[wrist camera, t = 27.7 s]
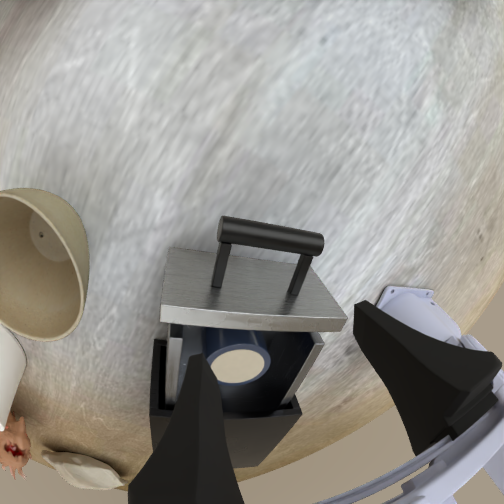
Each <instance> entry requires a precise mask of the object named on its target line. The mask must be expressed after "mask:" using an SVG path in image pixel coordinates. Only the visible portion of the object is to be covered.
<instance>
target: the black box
mask: <svg viewBox="0 0 504 504" xmlns="http://www.w3.org/2000/svg"><path fill="white" fill-rule="evenodd" d="M166 345H167V341H165V340H157V339H154V346H153V357H152V370H151V386H150V409H149V417H150V429H151V438H152V447H153V452H154V450H155V448H156V447H157V445H158V443H159V441H160V439H161V437H162V435H163V433H164V431H165V429H166V427H167V425H168V423H169V420H170V418H171V416H172V413H173V410H165V360H166ZM301 415H302V411H301V408H300V406H299V403H298V401H297V398H296V395H295V394H294V396H293V397H292V399H291V400H290V402H289V403H288V405H287V406H286V408H285V409H284V410H273V411H257V412H223V419H224V428H225V437H226V443H227V447H228V451H229V455H230V459H231V463H232V467H233V468H245V467H255V466H258V465H259V464H260V463H261V462H262V461H263V460H264V459H265V458H266V457H267V456H268V455H269V453H270V452H271V451H272V450H273V449H274V448H275V447H276V446H277V444H278V443H279V442H280V441H281V440H282V439H283V437H284V436H285V435H286V434H287V433H288V432H289V430H290V429H291V428H292V427H293V425H294V424H295V423H296V422H297V420H298V419H299V418H300V417H301Z"/></svg>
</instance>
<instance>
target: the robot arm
mask: <svg viewBox="0 0 504 504" xmlns="http://www.w3.org/2000/svg"><path fill="white" fill-rule="evenodd" d="M433 294H434V291H433V290H431V289H419V288H408V287H398V286H387V287H386V288H385V290H384V292H383V294H382V296H381V298H380V299H379V301H378V303H377V305H376V306H374V305H373V304H371V303H369V302H368V301H366V300H364V301H362V302H359V303H357V304H354V325H353V334H354V336H355V338H356V340H357V342H358V344H359V346H360V348H361V350H362V352H363V353H364V355H365V356H366V358H367V359H368V360H369V362H370V363H371V365H372V366H373V368H374V369H375V371H376V372H377V374H378V375H379V377H380V378H381V379H382V381H383V382H384V384H385V386H386V387H387V389H388V391H389V393H390V395H391V397H392V399H393V401H394V403H395V405H396V407H397V410H398V412H399V414H400V416H401V419H402V421H403V424H404V426H405V428H406V431H407V434H408V437H409V440H410V443H411V446H412V449H413V452H414V454H415V456H416V457H415V458H413V459H412V460H410V461H408V462H406V463H405V464H403V465H401V466H399V467H398V468H396V469H394V470H392V471H390V472H388V473H386V474H384V475H382V476H380V477H379V478H376V479H374V480H372V481H370V482H368V483H366V484H364V485H361V486H359V487H357V488H355V489H352V490H350V491H347V492H345V493H342V494H340V495H337V496H334V497H332V498H329V499H326V500H323V501H320V502H317V503H314V504H352V503H354V502H356V501H359V500H361V499H363V498H366V497H368V496H370V495H372V494H374V493H376V492H378V491H380V490H382V489H384V488H386V487H388V486H390V485H392V484H394V483H396V482H398V481H399V480H401V479H403V478H405V477H406V476H408V475H410V474H411V473H413V472H415V471H417V470H418V469H419V468H421V467H423V466H424V465H426V464H428V463H429V462H430V463H429V467H428V469H426V470H425V471H423V472H422V473H420V474H418V475H417V476H415V477H414V478H412V479H410V480H409V481H407V482H405V483H404V484H402V485H401V488H402V489H403V493H402V494H400V495H398V496H396V497H394V498H392V499H390V500H388V501H386V502H384V503H383V504H457V502H456V500H455V498H454V497H453V494H454V493H455V492H456V491H457V490H458V489H460V488H461V487H462V486H463V485H464V484H465V483H466V482H467V481H469V480H470V479H471V478H472V477H473V476H474V475H475V474H476V473H477V472H478V471H479V470H480V469H481V468H482V467H483V468H484V469H485V471H486V472H487V473H488V475H489V476H490V477H491V479H492V480H493V481H494V482H495V484H496V485H497V487H498V488H499V490H500V491H501V492H502V494H503V495H504V372H503V371H502V369H501V367H502V362H501V361H500V360H499V359H498V358H497V356H496V355H494V353H493V352H488V351H487V350H486V349H485V348H484V347H483V346H482V345H481V344H480V343H479V342H478V341H477V340H476V339H475V338H474V337H473V336H472V335H470V334H469V335H462V336H461V331H460V328H459V326H458V325H457V323H456V322H455V321H454V320H453V319H452V318H451V317H450V316H449V315H448V314H447V313H446V312H445V311H444V310H443V309H442V308H441V307H440V306H439V305H438V304H437V303H436V302H434V301H433V300H432V299H431V298H432V296H433ZM128 504H244V501H243V498H242V495H241V493H240V490H239V487H238V484H237V480H236V477H235V474H234V470H233V467H232V463H231V459H230V455H229V451H228V447H227V443H226V437H225V428H224V419H223V410H222V401H221V394H220V390H219V385H218V381H217V377H216V376H215V374H214V372H213V370H212V369H211V367H210V365H209V363H208V361H207V360H206V358H205V356H204V354H203V353H200V354H196V355H192V356H190V357H189V359H188V364H187V368H186V372H185V376H184V379H183V383H182V386H181V390H180V393H179V396H178V399H177V402H176V405H175V408H174V410H173V413H172V416H171V418H170V420H169V423H168V425H167V427H166V429H165V431H164V433H163V435H162V437H161V439H160V441H159V443H158V445H157V447H156V448H155V450H154V452H153V453H152V455H151V456H150V458H149V459H148V461H147V462H146V464H145V465H144V467H143V468H142V469H141V471H140V472H139V473H138V474H137V476H136V477H135V478H134V479H133V480H132V482H131V483H130V484H129V485H128Z"/></svg>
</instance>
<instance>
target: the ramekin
mask: <svg viewBox="0 0 504 504" xmlns="http://www.w3.org/2000/svg"><path fill="white" fill-rule="evenodd" d="M200 337H201V349H202V353H203V354H204V356H205V358H206V360H207V361H208V363H209V365H210V367H211V369H212V370H213V372H214V374H215V376H216V377H217V381H218V384H220V385H226V386H238V385H244V384H247V383H250V382H253V381H255V380H257V379H258V378H260V377H261V376H263V375H264V374H265V373H266V372H267V370H268V369H269V367H270V363H271V358H270V354H269V351H268V348H267V345H266V342H265V339H264V337H263V334H262V331H261V330H242V329H227V328H214V327H202V326H200Z"/></svg>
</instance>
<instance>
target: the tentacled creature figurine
mask: <svg viewBox="0 0 504 504" xmlns="http://www.w3.org/2000/svg"><path fill="white" fill-rule="evenodd" d="M30 447H31V443H30V440H29V438H28V436H27V434H26V425H25V421H24V417H20V419H19V421H16V419H15V414H14V411H13V416H12V414H11V411H10V412H9V415H8V418H7V422H6V425H5V429H4V431H0V463H1V464H3V465H2V469H4V470H5V467H6V466H9V467H10V472H11V474H12V476H13V477H14V479H15V470H16V469H18V473H19V474H20V475H21V476H22V477H23V478H24V476H25V475H24V474H23V472H22V467H23V466H25V465H26V464H27V462H28V460H29V458H30V459H32V457H31V454H30V452H29V451H30ZM5 471H6V470H5ZM12 471H13V473H12ZM23 475H24V476H23ZM24 479H25V478H24Z"/></svg>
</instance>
